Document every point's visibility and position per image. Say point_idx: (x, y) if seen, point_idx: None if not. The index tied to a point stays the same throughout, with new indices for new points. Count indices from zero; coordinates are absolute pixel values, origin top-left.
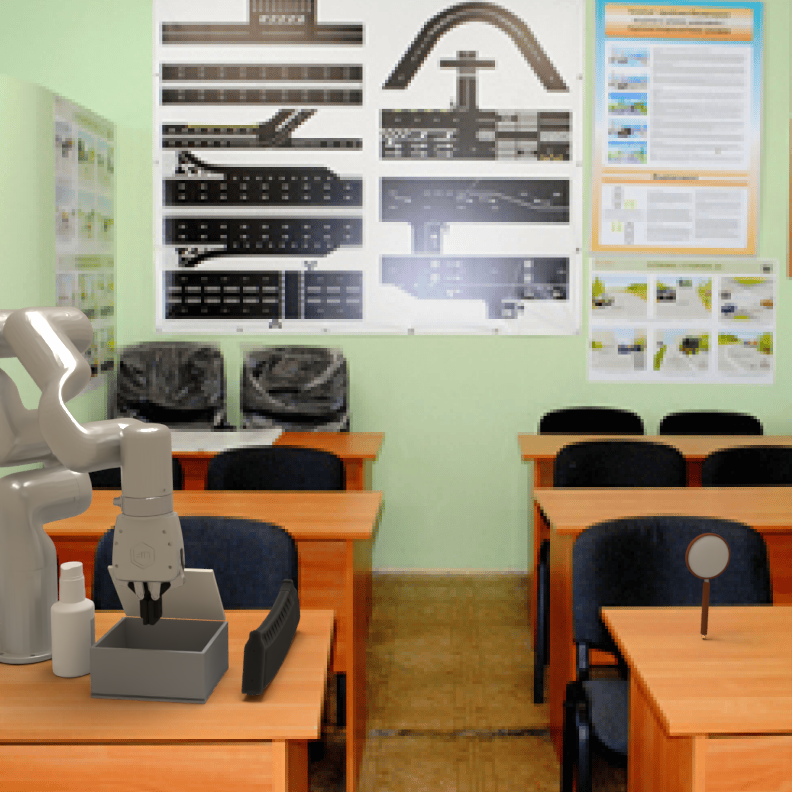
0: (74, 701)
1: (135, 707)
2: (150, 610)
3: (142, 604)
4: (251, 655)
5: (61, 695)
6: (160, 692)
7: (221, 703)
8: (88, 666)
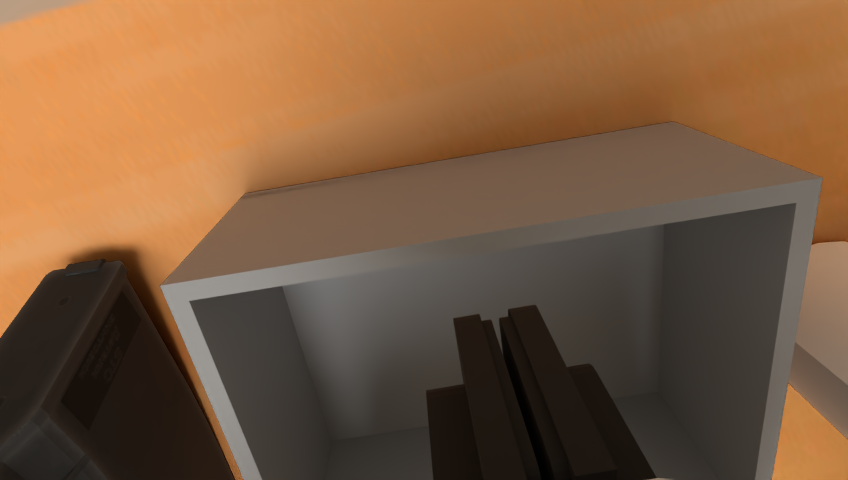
0: (725, 77)
1: (474, 95)
2: (490, 396)
3: (595, 429)
4: (19, 382)
5: (792, 110)
6: (406, 175)
7: (192, 213)
8: None
